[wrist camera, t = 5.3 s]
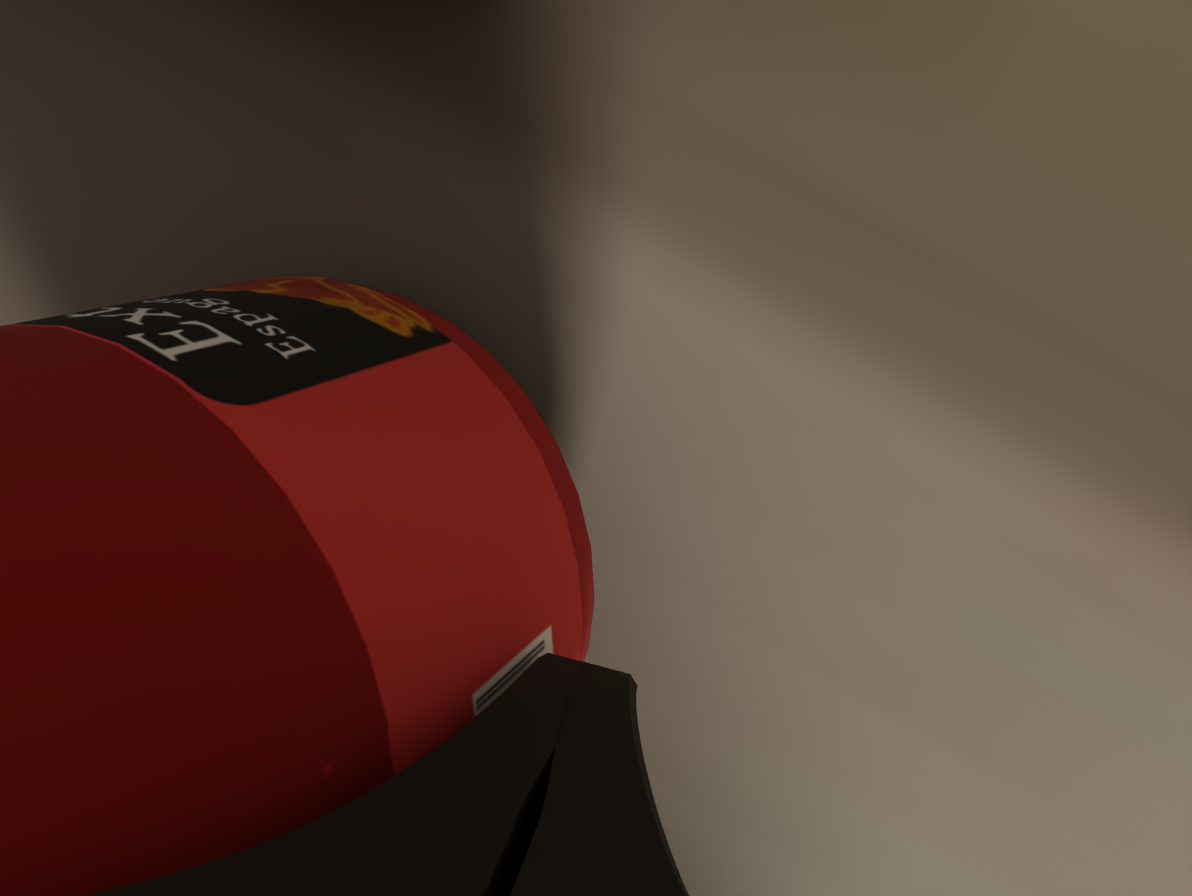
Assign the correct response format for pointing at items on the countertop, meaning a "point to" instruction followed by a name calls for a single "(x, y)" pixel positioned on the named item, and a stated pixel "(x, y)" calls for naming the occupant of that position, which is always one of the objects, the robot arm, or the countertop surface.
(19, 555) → the canned food
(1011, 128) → the countertop surface
